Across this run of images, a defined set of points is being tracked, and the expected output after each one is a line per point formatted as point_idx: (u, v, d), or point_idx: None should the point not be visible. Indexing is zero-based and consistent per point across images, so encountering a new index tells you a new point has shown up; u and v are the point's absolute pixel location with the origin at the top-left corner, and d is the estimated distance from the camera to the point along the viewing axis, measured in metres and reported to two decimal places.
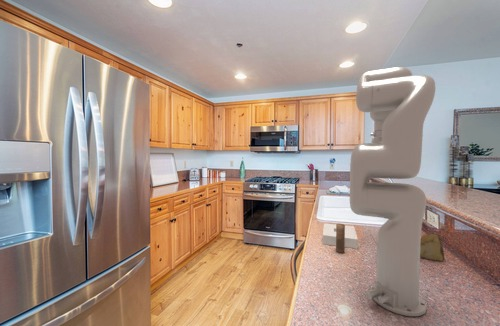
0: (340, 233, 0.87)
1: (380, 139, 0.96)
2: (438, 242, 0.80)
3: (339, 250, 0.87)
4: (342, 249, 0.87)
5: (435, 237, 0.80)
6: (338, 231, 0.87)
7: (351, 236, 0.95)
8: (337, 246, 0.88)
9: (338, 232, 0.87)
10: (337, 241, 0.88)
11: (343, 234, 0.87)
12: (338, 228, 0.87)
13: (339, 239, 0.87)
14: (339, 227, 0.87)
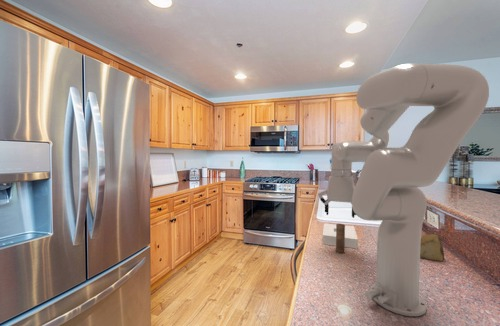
0: (340, 233, 0.87)
1: None
2: (438, 242, 0.80)
3: (339, 250, 0.87)
4: (342, 249, 0.87)
5: (435, 237, 0.80)
6: (338, 231, 0.87)
7: (351, 236, 0.95)
8: (337, 246, 0.88)
9: (338, 232, 0.87)
10: (337, 241, 0.88)
11: (343, 234, 0.87)
12: (338, 228, 0.87)
13: (339, 239, 0.87)
14: (339, 227, 0.87)
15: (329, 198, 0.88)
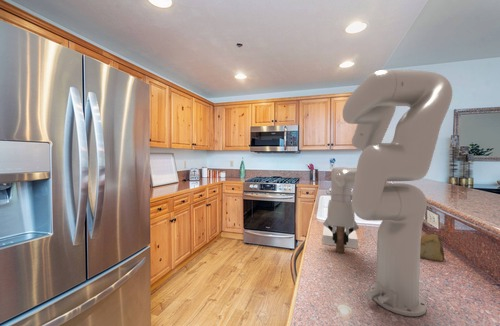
0: (340, 233, 0.87)
1: None
2: (438, 242, 0.80)
3: (339, 250, 0.87)
4: (342, 249, 0.87)
5: (435, 237, 0.80)
6: (338, 231, 0.87)
7: (351, 236, 0.95)
8: (337, 246, 0.88)
9: (338, 232, 0.87)
10: (337, 241, 0.88)
11: (343, 234, 0.87)
12: (338, 228, 0.87)
13: (339, 239, 0.87)
14: (339, 227, 0.87)
15: (329, 223, 0.88)
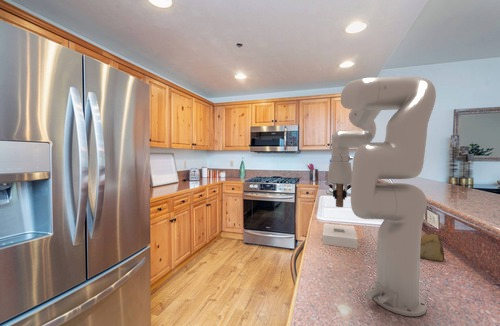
0: (340, 189, 1.00)
1: None
2: (438, 242, 0.80)
3: (338, 204, 1.00)
4: (341, 203, 1.00)
5: (435, 237, 0.80)
6: (338, 188, 1.00)
7: (351, 236, 0.95)
8: (337, 201, 1.01)
9: (338, 189, 1.00)
10: (337, 197, 1.01)
11: (342, 190, 1.00)
12: (338, 185, 1.00)
13: (338, 194, 1.00)
14: (338, 184, 1.00)
15: (330, 181, 1.01)
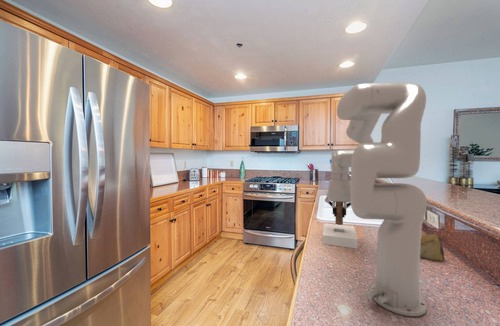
0: (339, 207, 1.00)
1: None
2: (438, 242, 0.80)
3: (338, 222, 1.01)
4: (341, 221, 1.01)
5: (435, 237, 0.80)
6: (337, 205, 1.01)
7: (351, 236, 0.95)
8: (336, 219, 1.01)
9: (337, 206, 1.01)
10: (336, 214, 1.01)
11: (341, 208, 1.00)
12: (337, 203, 1.01)
13: (338, 212, 1.01)
14: (338, 202, 1.00)
15: (330, 198, 1.01)
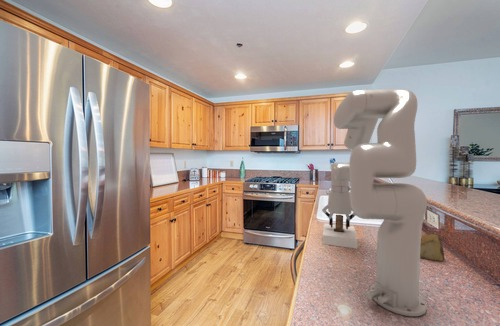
0: (339, 223, 1.00)
1: None
2: (438, 242, 0.80)
3: None
4: None
5: (435, 237, 0.80)
6: (337, 221, 1.01)
7: (351, 236, 0.95)
8: None
9: (337, 222, 1.01)
10: (336, 229, 1.01)
11: (341, 223, 1.00)
12: (337, 218, 1.01)
13: (338, 228, 1.01)
14: (338, 217, 1.01)
15: (330, 210, 1.01)
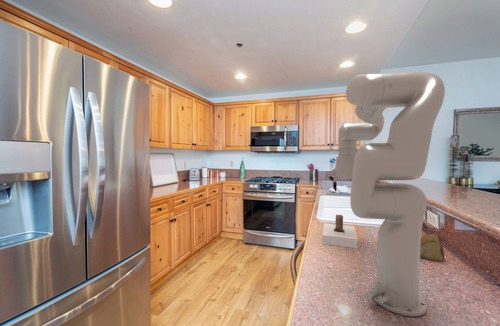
0: (339, 223, 1.00)
1: None
2: (438, 242, 0.80)
3: None
4: None
5: (435, 237, 0.80)
6: (337, 221, 1.01)
7: (351, 236, 0.95)
8: None
9: (337, 222, 1.01)
10: (336, 230, 1.01)
11: (341, 223, 1.00)
12: (337, 218, 1.01)
13: (338, 228, 1.01)
14: (338, 217, 1.01)
15: (337, 175, 0.98)
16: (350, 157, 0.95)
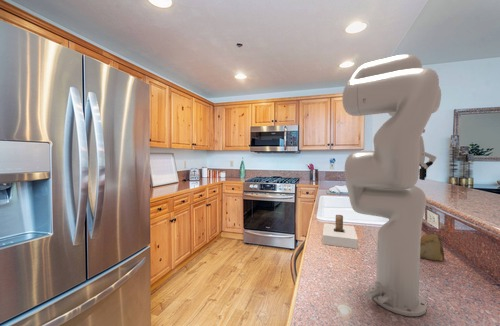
0: (339, 223, 1.00)
1: None
2: (438, 242, 0.80)
3: None
4: None
5: (435, 237, 0.80)
6: (337, 221, 1.01)
7: (351, 236, 0.95)
8: None
9: (337, 222, 1.01)
10: (336, 229, 1.01)
11: (341, 223, 1.01)
12: (337, 218, 1.01)
13: (338, 228, 1.01)
14: (338, 217, 1.01)
15: None
16: None
